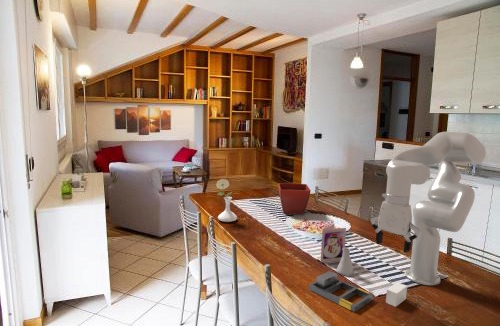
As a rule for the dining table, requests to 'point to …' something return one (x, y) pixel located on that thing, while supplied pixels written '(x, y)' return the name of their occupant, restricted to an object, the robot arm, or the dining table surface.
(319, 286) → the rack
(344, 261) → the flask
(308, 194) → the plant pot
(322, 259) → the greeting card
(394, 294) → the white block
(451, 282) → the dining table surface
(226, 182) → the flower in vase
